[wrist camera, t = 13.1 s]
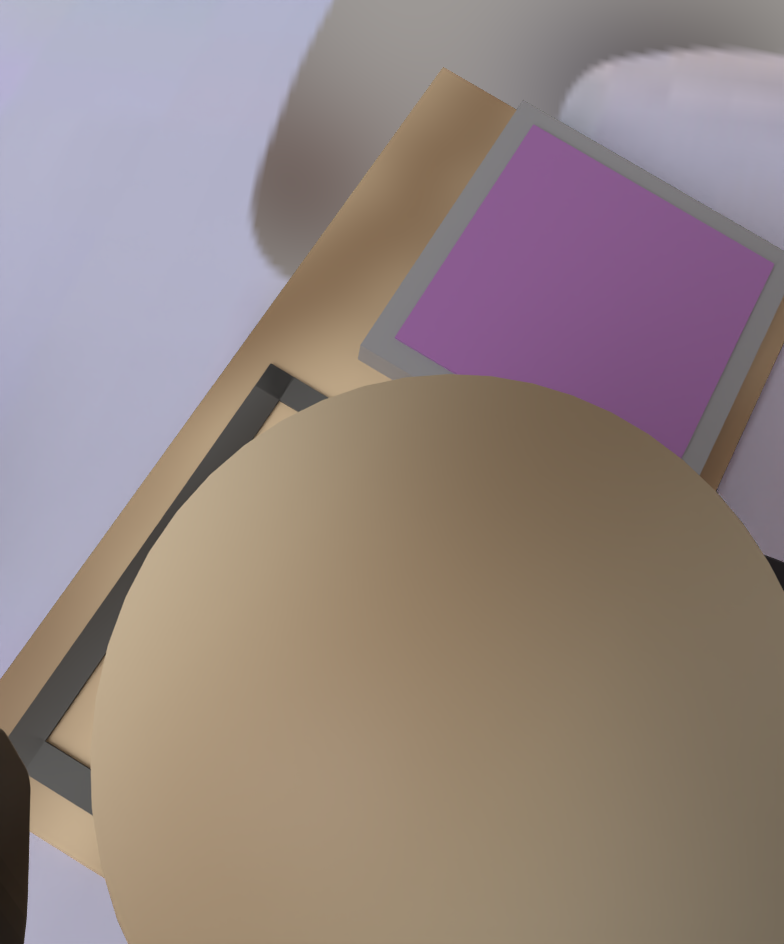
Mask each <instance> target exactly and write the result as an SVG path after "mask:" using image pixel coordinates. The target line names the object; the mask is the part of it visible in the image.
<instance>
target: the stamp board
mask: <svg viewBox="0 0 784 944" xmlns="http://www.w3.org/2000/svg"><path fill="white" fill-rule="evenodd" d="M515 112H516V109H515V108H513V107H511V106H509V105H507V104H506V103H504V102H502V101H501V100H499V99H497V98H496V97H494V96H492V95H491V94H489V93H487V92H485V91H484V90H482V89H480V88H478V87H477V86H475V85H473V84H472V83H470V82H468V81H466V80H465V79H463V78H461V77H459V76H458V75H456V74H454V73H453V72H451V71H449V70H447V69H446V68H444V67H443V68H442V69H441V71H440V72H439V74H438V75H437V76H436V78H435V79H434V81H433V82H432V83H431V85H430V86H429V88H428V89H427V90H426V92H425V93H424V95H423V96H422V97H421V99H420V100H419V101H418V103H417V104H416V105H415V107H414V108H413V110H412V111H411V112H410V114H409V115H408V117H407V118H406V119H405V121H404V122H403V123H402V125H401V126H400V128H399V129H398V130H397V132H396V133H395V134H394V136H393V137H392V139H391V140H390V142H389V143H388V144H387V146H386V147H385V148H384V150H383V151H382V153H381V154H380V155H379V157H378V158H377V160H376V161H375V162H374V164H373V165H372V166H371V168H370V169H369V171H368V172H367V173H366V175H365V176H364V177H363V179H362V180H361V181H360V183H359V184H358V186H357V187H356V188H355V190H354V192H353V193H352V194H351V195H350V197H349V198H348V199H347V201H346V202H345V204H344V205H343V207H342V208H341V209H340V211H339V212H338V213H337V215H336V216H335V217H334V219H333V220H332V222H331V223H330V225H329V226H328V227H327V229H326V230H325V232H324V233H323V234H322V235H321V237H320V238H319V240H318V241H317V243H316V244H315V245H314V247H313V248H312V250H311V251H310V252H309V253H308V255H307V256H306V258H305V259H304V260H303V262H302V263H301V264H300V266H299V267H298V269H297V270H296V272H295V273H294V274H293V276H292V277H291V278H290V280H289V281H288V282H287V284H286V285H285V287H284V288H283V289H282V291H281V292H280V293H279V295H278V296H277V298H276V299H275V300H274V302H273V303H272V305H271V306H270V307H269V309H268V310H267V311H266V313H265V314H264V316H263V317H262V318H261V320H260V321H259V323H258V324H257V325H256V327H255V328H254V329H253V331H252V332H251V334H250V335H249V336H248V338H247V339H246V340H245V342H244V343H243V345H242V346H241V347H240V349H239V350H238V352H237V353H236V354H235V356H234V357H233V358H232V360H231V361H230V363H229V364H228V365H227V367H226V368H225V370H224V371H223V372H222V374H221V375H220V376H219V378H218V379H217V381H216V382H215V383H214V385H213V386H212V388H211V389H210V390H209V392H208V393H207V394H206V396H205V397H204V399H203V400H202V401H201V403H200V404H199V405H198V407H197V408H196V410H195V411H194V412H193V414H192V415H191V417H190V418H189V419H188V421H187V422H186V423H185V425H184V426H183V428H182V429H181V430H180V432H179V433H178V435H177V436H176V437H175V439H174V440H173V441H172V443H171V444H170V446H169V447H168V448H167V450H166V451H165V452H164V454H163V455H162V457H161V458H160V459H159V461H158V462H157V464H156V465H155V466H154V468H153V469H152V470H151V472H150V473H149V475H148V476H147V477H146V479H145V480H144V482H143V483H142V484H141V486H140V487H139V488H138V490H137V491H136V493H135V494H134V495H133V497H132V498H131V500H130V501H129V502H128V504H127V505H126V506H125V508H124V509H123V511H122V512H121V513H120V515H119V516H118V517H117V519H116V520H115V522H114V523H113V524H112V526H111V527H110V529H109V530H108V531H107V533H106V534H105V535H104V537H103V538H102V540H101V541H100V542H99V544H98V545H97V547H96V548H95V549H94V551H93V552H92V553H91V555H90V556H89V558H88V559H87V560H86V562H85V563H84V564H83V566H82V567H81V569H80V570H79V571H78V573H77V574H76V576H75V577H74V578H73V580H72V581H71V582H70V584H69V585H68V587H67V588H66V589H65V591H64V592H63V594H62V595H61V596H60V598H59V599H58V600H57V602H56V603H55V605H54V606H53V607H52V609H51V610H50V611H49V613H48V614H47V616H46V617H45V618H44V620H43V621H42V623H41V624H40V625H39V627H38V628H37V629H36V631H35V632H34V634H33V635H32V636H31V638H30V639H29V641H28V642H27V643H26V645H25V646H24V647H23V649H22V650H21V652H20V653H19V654H18V656H17V657H16V659H15V660H14V661H13V663H12V664H11V665H10V667H9V668H8V670H7V671H6V672H5V674H4V675H3V676H2V678H1V679H0V728H1V729H2V730H3V731H4V732H5V733H6V734H7V736H8V738H9V739H10V741H11V743H12V744H13V746H14V748H15V750H16V751H17V753H18V755H19V757H20V758H21V760H22V762H23V763H24V765H25V767H26V769H27V771H28V774H29V779H30V786H31V796H30V832H32V833H33V834H35V835H36V836H38V837H39V838H41V839H43V840H44V841H46V842H47V843H49V844H51V845H52V846H54V847H55V848H57V849H59V850H60V851H62V852H63V853H65V854H67V855H68V856H70V857H71V858H73V859H75V860H76V861H78V862H79V863H81V864H83V865H84V866H86V867H87V868H89V869H90V870H92V871H94V872H95V873H97V874H98V875H100V876H102V877H103V878H105V877H104V874H103V870H102V867H101V863H100V857H99V850H98V844H97V838H96V832H95V825H94V819H93V813H92V798H91V763H90V750H91V740H92V730H93V720H94V710H95V700H96V694H97V690H98V686H99V681H100V677H101V673H102V668H103V664H104V660H105V655H106V651H107V647H108V644H109V641H110V638H111V636H112V633H113V630H114V627H115V625H116V622H117V619H118V617H119V614H120V611H121V608H122V606H123V603H124V600H125V598H126V595H127V594H128V592H129V590H130V588H131V586H132V584H133V582H134V580H135V578H136V576H137V574H138V572H139V570H140V568H141V567H142V565H143V563H144V561H145V559H146V557H147V555H148V553H149V551H150V550H151V548H152V547H153V546H154V544H155V543H156V541H157V540H158V538H159V537H160V535H161V534H162V533H163V531H164V530H165V528H166V527H167V525H168V524H169V522H170V521H171V520H172V518H173V517H174V515H175V514H176V512H177V511H178V510H179V509H180V508H181V507H182V505H183V504H184V503H185V502H186V501H187V500H188V499H189V498H190V496H191V495H192V494H193V493H194V492H195V491H196V490H197V489H198V488H199V486H200V485H201V484H202V483H203V482H204V481H205V480H206V479H207V478H208V476H209V475H211V474H212V473H213V472H214V471H215V470H216V469H217V468H219V467H220V466H221V465H222V464H223V463H224V462H226V461H227V460H228V459H229V458H230V457H231V456H233V455H234V454H235V453H236V452H237V451H238V450H239V449H241V448H242V447H243V446H244V445H245V444H247V443H248V442H250V441H251V440H253V439H255V438H256V437H258V436H259V435H261V434H262V433H264V432H265V431H267V430H268V429H270V428H271V427H273V426H274V425H276V424H277V423H279V422H280V421H282V420H283V419H285V418H287V417H289V416H292V415H294V414H296V413H298V412H300V411H302V410H304V409H306V408H308V407H310V406H312V405H314V404H316V403H318V402H320V401H322V400H325V399H328V398H330V397H333V396H336V395H339V394H342V393H345V392H348V391H351V390H354V389H357V388H360V387H362V386H367V385H371V384H376V383H381V382H386V381H391V380H392V379H390V378H388V377H387V376H385V375H383V374H382V373H380V372H378V371H376V370H375V369H373V368H371V367H370V366H368V365H366V364H365V363H363V362H361V361H360V360H358V355H359V350H360V345H361V343H362V342H363V340H364V339H365V337H366V336H367V334H368V333H369V331H370V330H371V328H372V327H373V325H374V324H375V322H376V321H377V319H378V318H379V316H380V315H381V313H382V312H383V310H384V309H385V307H386V306H387V304H388V303H389V301H390V300H391V298H392V297H393V295H394V294H395V292H396V291H397V289H398V288H399V286H400V285H401V283H402V282H403V280H404V279H405V277H406V275H407V274H408V272H409V271H410V269H411V268H412V266H413V265H414V263H415V262H416V260H417V259H418V257H419V256H420V254H421V253H422V251H423V250H424V248H425V247H426V245H427V244H428V242H429V241H430V239H431V238H432V236H433V235H434V233H435V232H436V230H437V229H438V227H439V226H440V224H441V223H442V221H443V220H444V218H445V217H446V215H447V214H448V212H449V211H450V209H451V208H452V206H453V205H454V203H455V202H456V200H457V199H458V197H459V196H460V194H461V193H462V191H463V190H464V188H465V187H466V185H467V184H468V182H469V181H470V179H471V178H472V176H473V175H474V173H475V172H476V170H477V169H478V167H479V166H480V164H481V163H482V161H483V160H484V158H485V157H486V155H487V154H488V152H489V151H490V149H491V148H492V146H493V145H494V143H495V142H496V140H497V139H498V137H499V136H500V134H501V133H502V131H503V130H504V128H505V127H506V125H507V124H508V122H509V121H510V119H511V118H512V116H513V115H514V113H515ZM783 343H784V296H783V298H782V300H781V303H780V305H779V307H778V309H777V311H776V313H775V315H774V318H773V320H772V322H771V324H770V326H769V328H768V330H767V333H766V335H765V337H764V339H763V341H762V343H761V345H760V348H759V350H758V352H757V354H756V356H755V358H754V360H753V362H752V365H751V367H750V369H749V371H748V373H747V375H746V377H745V380H744V382H743V384H742V386H741V388H740V390H739V392H738V395H737V397H736V399H735V401H734V403H733V405H732V407H731V410H730V412H729V414H728V416H727V418H726V420H725V422H724V424H723V427H722V429H721V431H720V433H719V435H718V437H717V439H716V442H715V444H714V446H713V448H712V450H711V452H710V454H709V457H708V459H707V461H706V463H705V465H704V467H703V469H702V471H701V474H700V477H701V478H702V479H704V480H705V481H706V482H707V483H708V484H709V485H710V486H711V487H712V488H713V489H714V490H715V491H716V490H717V488H718V486H719V483H720V481H721V479H722V477H723V475H724V472H725V470H726V468H727V466H728V464H729V461H730V459H731V457H732V455H733V453H734V451H735V448H736V446H737V444H738V442H739V440H740V437H741V435H742V433H743V431H744V429H745V426H746V424H747V422H748V420H749V418H750V415H751V413H752V411H753V409H754V407H755V405H756V402H757V400H758V398H759V396H760V394H761V391H762V389H763V387H764V385H765V383H766V380H767V378H768V376H769V374H770V372H771V370H772V367H773V365H774V363H775V361H776V359H777V356H778V354H779V352H780V350H781V348H782V345H783Z"/></svg>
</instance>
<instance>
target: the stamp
mask: <svg viewBox="0 0 784 944" xmlns="http://www.w3.org/2000/svg"><path fill="white" fill-rule="evenodd" d="M90 763H91V798H92V813H93V819H94V825H95V832H96V838H97V844H98V850H99V857H100V863H101V867H102V870H103V874H104V877H105V880H106V884H107V887H108V890H109V894H110V897H111V900H112V904H113V907H114V910H115V914H116V917H117V920H118V922H119V925H120V927H121V929H122V931H123V933H124V936H125V938H126V940H127V942H128V944H784V591H783V589H782V587H781V585H780V583H779V581H778V579H777V577H776V575H775V573H774V571H773V570H772V568H771V566H770V564H769V562H768V560H767V559H766V557H765V556H764V554H763V553H762V551H761V550H760V548H759V547H758V545H757V544H756V542H755V541H754V539H753V538H752V536H751V535H750V533H749V532H748V530H747V529H746V527H745V526H744V524H743V523H742V522H741V521H740V520H739V518H738V517H737V516H736V515H735V514H734V512H733V511H732V510H731V509H730V508H729V506H728V505H727V504H726V503H725V502H724V501H723V499H722V498H721V497H720V496H719V495H718V493H717V492H716V491H715V490H714V489H713V488H712V487H711V486H710V485H709V484H708V483H707V482H706V481H705V480H704V479H702V478H701V477H700V476H699V475H698V474H697V473H696V472H695V471H694V470H693V469H692V468H691V467H690V466H689V465H688V464H687V463H686V462H685V461H684V460H682V459H681V458H680V457H678V456H677V455H676V454H674V453H673V452H672V451H670V450H669V449H668V448H666V447H665V446H664V445H662V444H661V443H660V442H658V441H657V440H656V439H654V438H653V437H652V436H650V435H649V434H648V433H646V432H644V431H642V430H641V429H639V428H637V427H636V426H634V425H632V424H631V423H629V422H627V421H625V420H624V419H622V418H620V417H619V416H617V415H615V414H613V413H612V412H610V411H607V410H605V409H603V408H600V407H598V406H596V405H594V404H591V403H589V402H587V401H584V400H582V399H580V398H577V397H575V396H573V395H570V394H566V393H563V392H560V391H556V390H553V389H550V388H546V387H543V386H540V385H536V384H533V383H528V382H522V381H516V380H511V379H505V378H499V377H493V376H479V375H458V374H443V375H430V376H417V377H405V378H400V379H396V380H391V381H386V382H381V383H376V384H371V385H367V386H362V387H360V388H357V389H354V390H351V391H348V392H345V393H342V394H339V395H336V396H333V397H330V398H328V399H325V400H322V401H320V402H318V403H316V404H314V405H312V406H310V407H308V408H306V409H304V410H302V411H300V412H298V413H296V414H294V415H292V416H289V417H287V418H285V419H283V420H282V421H280V422H279V423H277V424H276V425H274V426H273V427H271V428H270V429H268V430H267V431H265V432H264V433H262V434H261V435H259V436H258V437H256V438H255V439H253V440H251V441H250V442H248V443H247V444H245V445H244V446H243V447H242V448H241V449H239V450H238V451H237V452H236V453H235V454H234V455H233V456H231V457H230V458H229V459H228V460H227V461H226V462H224V463H223V464H222V465H221V466H220V467H219V468H217V469H216V470H215V471H214V472H213V473H212V474H211V475H209V476H208V478H207V479H206V480H205V481H204V482H203V483H202V484H201V485H200V486H199V488H198V489H197V490H196V491H195V492H194V493H193V494H192V495H191V496H190V498H189V499H188V500H187V501H186V502H185V503H184V504H183V505H182V507H181V508H180V509H179V510H178V511H177V512H176V514H175V515H174V517H173V518H172V520H171V521H170V522H169V524H168V525H167V527H166V528H165V530H164V531H163V533H162V534H161V535H160V537H159V538H158V540H157V541H156V543H155V544H154V546H153V547H152V548H151V550H150V551H149V553H148V555H147V557H146V559H145V561H144V563H143V565H142V567H141V568H140V570H139V572H138V574H137V576H136V578H135V580H134V582H133V584H132V586H131V588H130V590H129V592H128V594H127V595H126V598H125V600H124V603H123V606H122V608H121V611H120V614H119V617H118V619H117V622H116V625H115V627H114V630H113V633H112V636H111V638H110V641H109V644H108V647H107V651H106V655H105V660H104V664H103V668H102V673H101V677H100V681H99V686H98V690H97V694H96V700H95V710H94V720H93V730H92V740H91V750H90Z"/></svg>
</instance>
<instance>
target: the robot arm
mask: <svg viewBox="0 0 784 944" xmlns="http://www.w3.org/2000/svg"><path fill="white" fill-rule="evenodd" d="M764 556H765V557H766V559H767V560H768V562H769V564H770V566H771V568H772V570H773V571H774V573H775V575H776V577H777V579H778V581H779V583H780V585H781V587H782V589H783V591H784V562H782V561H779V560H777V559H774V558H771V557H769V556H766V555H764ZM30 796H31V786H30V779H29V774H28V771H27V769H26V767H25V765H24V763H23V762H22V760H21V758H20V757H19V755H18V753H17V751H16V750H15V748H14V746H13V744H12V743H11V741H10V739H9V738H8V736H7V734H6V733H5V732H4V731H3V730H2V729H1V728H0V944H24V937H25V929H26V920H27V902H28V870H29V833H30Z"/></svg>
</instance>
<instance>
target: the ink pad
mask: <svg viewBox="0 0 784 944" xmlns="http://www.w3.org/2000/svg"><path fill="white" fill-rule="evenodd" d="M783 296H784V251H783V250H781V249H780V248H778V247H776V246H774V245H773V244H771V243H769V242H768V241H766V240H764V239H762V238H761V237H759V236H757V235H755V234H754V233H752V232H750V231H749V230H747V229H745V228H743V227H742V226H740V225H738V224H737V223H735V222H733V221H731V220H730V219H728V218H726V217H724V216H723V215H721V214H719V213H718V212H716V211H714V210H712V209H711V208H709V207H707V206H705V205H704V204H702V203H700V202H699V201H697V200H695V199H693V198H692V197H690V196H688V195H686V194H685V193H683V192H681V191H680V190H678V189H676V188H674V187H673V186H671V185H669V184H667V183H666V182H664V181H662V180H661V179H659V178H657V177H655V176H654V175H652V174H650V173H648V172H647V171H645V170H643V169H642V168H640V167H638V166H636V165H635V164H633V163H631V162H629V161H628V160H626V159H624V158H623V157H621V156H619V155H617V154H616V153H614V152H612V151H610V150H609V149H607V148H605V147H604V146H602V145H600V144H598V143H597V142H595V141H593V140H591V139H590V138H588V137H586V136H585V135H583V134H581V133H579V132H578V131H576V130H574V129H572V128H571V127H569V126H567V125H566V124H564V123H562V122H560V121H559V120H557V119H555V118H553V117H552V116H550V115H548V114H546V113H545V112H543V111H541V110H539V109H538V108H536V107H534V106H533V105H531V104H529V103H528V102H526V101H524V100H523V101H522V103H521V104H520V106H519V107H518V109H517V110H516V112H515V113H514V115H513V116H512V118H511V119H510V121H509V122H508V124H507V125H506V127H505V128H504V130H503V131H502V133H501V134H500V136H499V137H498V139H497V140H496V142H495V143H494V145H493V146H492V148H491V149H490V151H489V152H488V154H487V155H486V157H485V158H484V160H483V161H482V163H481V164H480V166H479V167H478V169H477V170H476V172H475V173H474V175H473V176H472V178H471V179H470V181H469V182H468V184H467V185H466V187H465V188H464V190H463V191H462V193H461V194H460V196H459V197H458V199H457V200H456V202H455V203H454V205H453V206H452V208H451V209H450V211H449V212H448V214H447V215H446V217H445V218H444V220H443V221H442V223H441V224H440V226H439V227H438V229H437V230H436V232H435V233H434V235H433V236H432V238H431V239H430V241H429V242H428V244H427V245H426V247H425V248H424V250H423V251H422V253H421V254H420V256H419V257H418V259H417V260H416V262H415V263H414V265H413V266H412V268H411V269H410V271H409V272H408V274H407V275H406V277H405V279H404V280H403V282H402V283H401V285H400V286H399V288H398V289H397V291H396V292H395V294H394V295H393V297H392V298H391V300H390V301H389V303H388V304H387V306H386V307H385V309H384V310H383V312H382V313H381V315H380V316H379V318H378V319H377V321H376V322H375V324H374V325H373V327H372V328H371V330H370V331H369V333H368V334H367V336H366V337H365V339H364V340H363V342H362V343H361V345H360V350H359V355H358V360H360V361H361V362H363V363H365V364H366V365H368V366H370V367H371V368H373V369H375V370H376V371H378V372H380V373H382V374H383V375H385V376H387V377H388V378H390V379H392V380H396V379H400V378H405V377H417V376H430V375H443V374H458V375H479V376H493V377H499V378H505V379H511V380H516V381H522V382H528V383H533V384H536V385H540V386H543V387H546V388H550V389H553V390H556V391H560V392H563V393H566V394H570V395H573V396H575V397H577V398H580V399H582V400H584V401H587V402H589V403H591V404H594V405H596V406H598V407H600V408H603V409H605V410H607V411H610V412H612V413H613V414H615V415H617V416H619V417H620V418H622V419H624V420H625V421H627V422H629V423H631V424H632V425H634V426H636V427H637V428H639V429H641V430H642V431H644V432H646V433H648V434H649V435H650V436H652V437H653V438H654V439H656V440H657V441H658V442H660V443H661V444H662V445H664V446H665V447H666V448H668V449H669V450H670V451H672V452H673V453H674V454H676V455H677V456H678V457H680V458H681V459H682V460H684V461H685V462H686V463H687V464H688V465H689V466H690V467H691V468H692V469H693V470H694V471H695V472H696V473H697V474H698V475H699V476H700V474H701V471H702V469H703V467H704V465H705V463H706V461H707V459H708V457H709V454H710V452H711V450H712V448H713V446H714V444H715V442H716V439H717V437H718V435H719V433H720V431H721V429H722V427H723V424H724V422H725V420H726V418H727V416H728V414H729V412H730V410H731V407H732V405H733V403H734V401H735V399H736V397H737V395H738V392H739V390H740V388H741V386H742V384H743V382H744V380H745V377H746V375H747V373H748V371H749V369H750V367H751V365H752V362H753V360H754V358H755V356H756V354H757V352H758V350H759V348H760V345H761V343H762V341H763V339H764V337H765V335H766V333H767V330H768V328H769V326H770V324H771V322H772V320H773V318H774V315H775V313H776V311H777V309H778V307H779V305H780V303H781V300H782V298H783Z"/></svg>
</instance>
